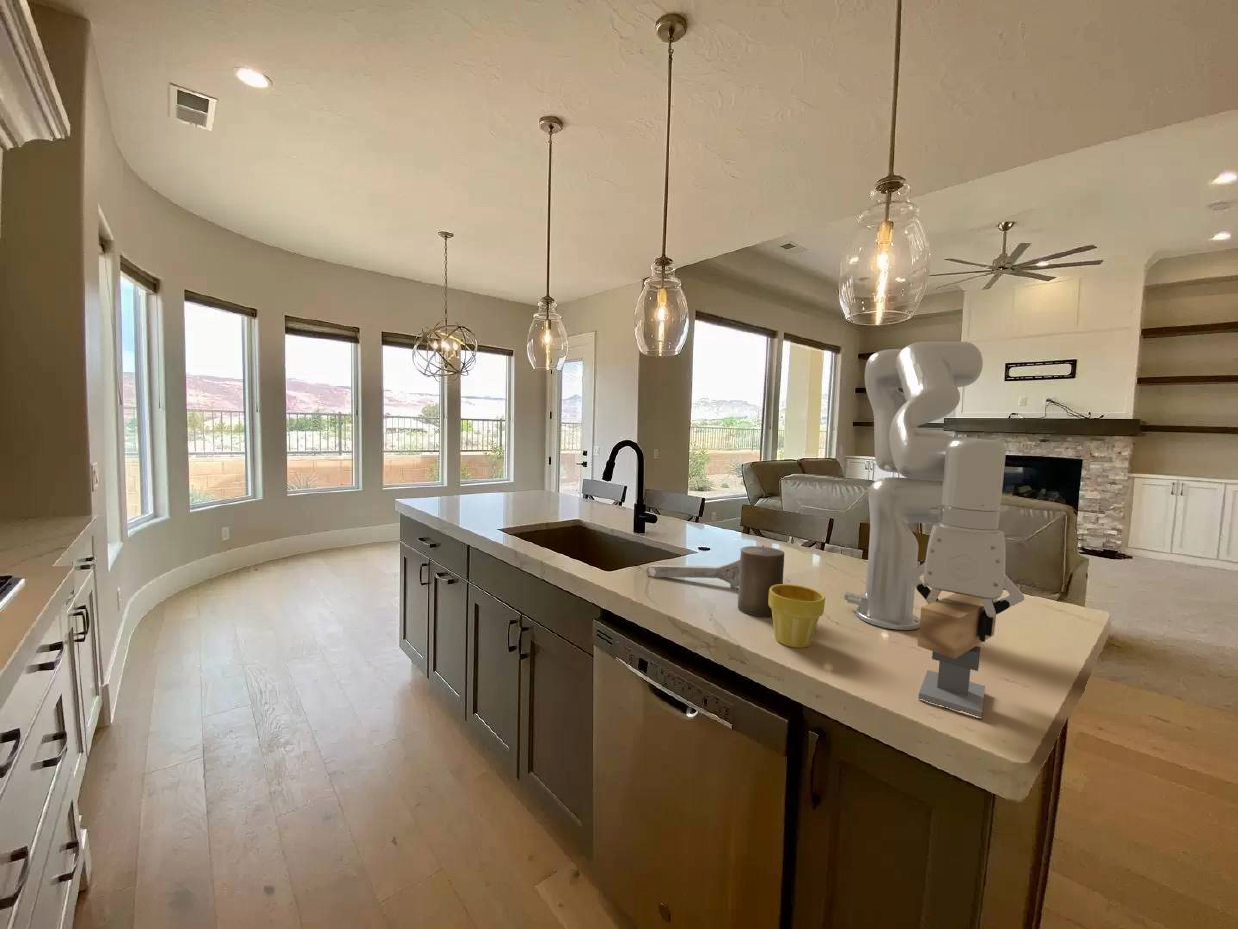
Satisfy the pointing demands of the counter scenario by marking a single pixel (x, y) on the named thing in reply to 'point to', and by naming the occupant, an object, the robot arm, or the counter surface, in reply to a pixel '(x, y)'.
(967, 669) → the stand
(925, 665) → the counter surface
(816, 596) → the plant pot
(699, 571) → the wrench
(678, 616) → the counter surface
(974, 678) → the counter surface
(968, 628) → the oak block
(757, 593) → the pillar candle
